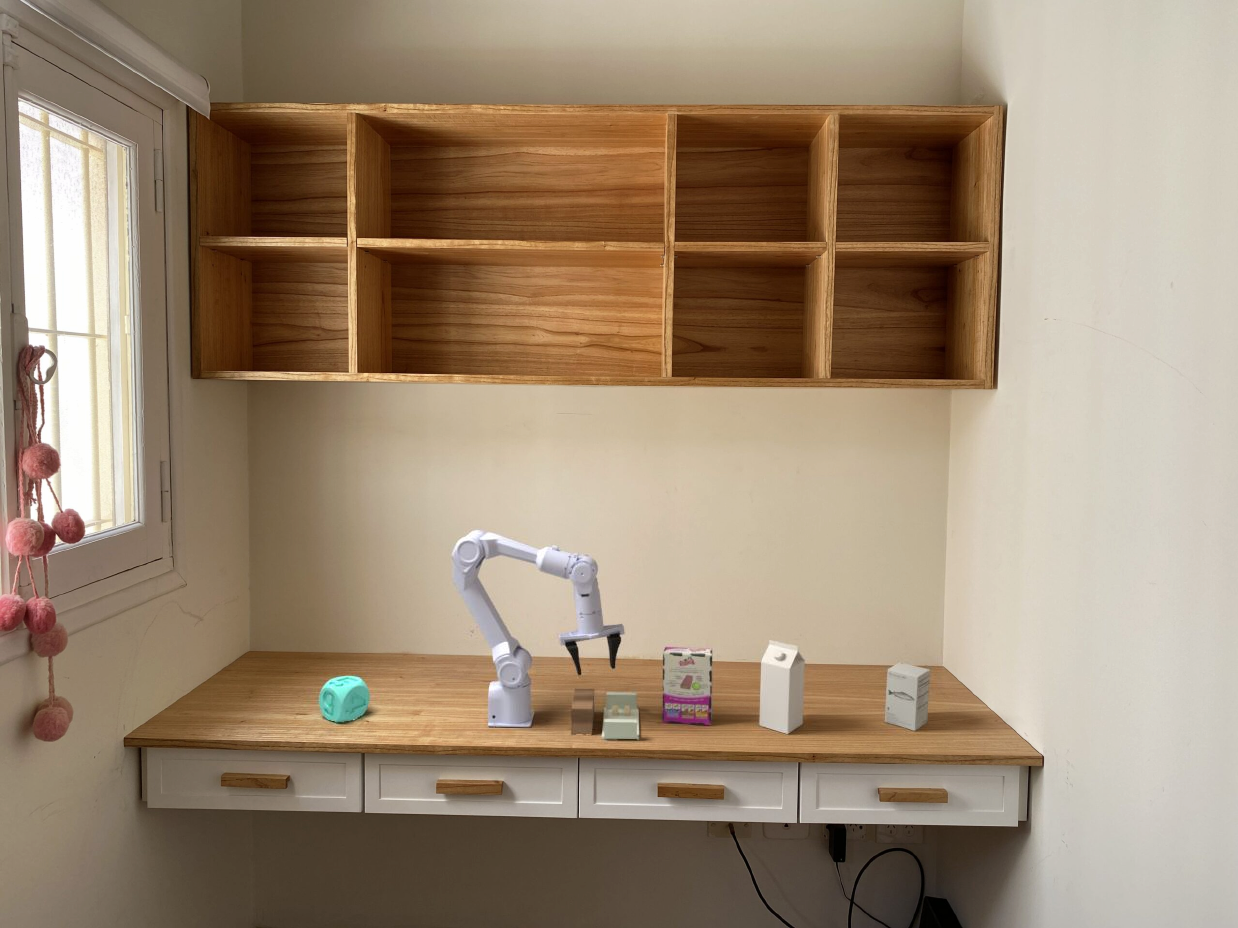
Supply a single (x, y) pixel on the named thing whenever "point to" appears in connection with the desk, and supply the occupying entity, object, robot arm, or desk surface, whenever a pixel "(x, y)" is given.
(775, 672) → the milk carton
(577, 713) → the brown rectangular block
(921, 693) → the supplement box
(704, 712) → the candy bar box
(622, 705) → the peg frame
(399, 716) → the desk surface
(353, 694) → the decorative dice
